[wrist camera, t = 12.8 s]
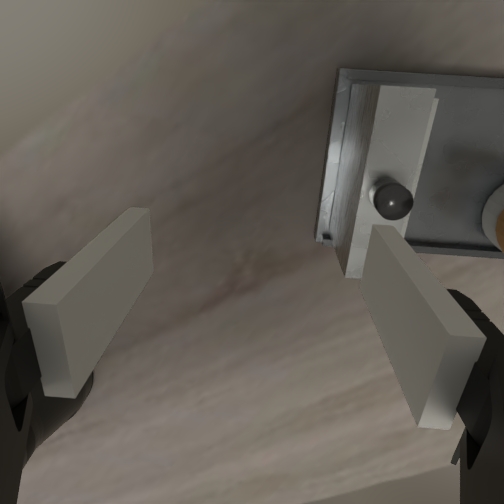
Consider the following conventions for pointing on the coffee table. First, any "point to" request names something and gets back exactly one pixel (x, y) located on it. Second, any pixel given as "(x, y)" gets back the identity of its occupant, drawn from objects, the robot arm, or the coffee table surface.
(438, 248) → the base
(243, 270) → the coffee table surface
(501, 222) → the coffee cup
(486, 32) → the coffee table surface
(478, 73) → the coffee table surface
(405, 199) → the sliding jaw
